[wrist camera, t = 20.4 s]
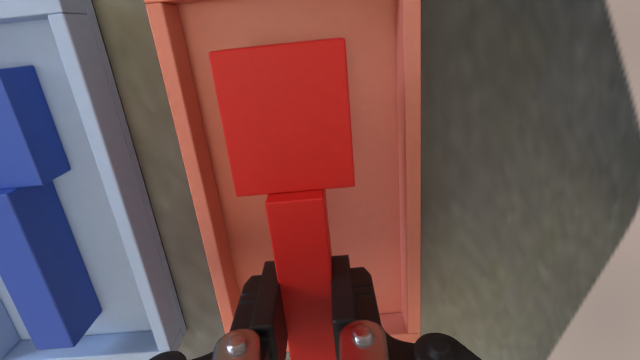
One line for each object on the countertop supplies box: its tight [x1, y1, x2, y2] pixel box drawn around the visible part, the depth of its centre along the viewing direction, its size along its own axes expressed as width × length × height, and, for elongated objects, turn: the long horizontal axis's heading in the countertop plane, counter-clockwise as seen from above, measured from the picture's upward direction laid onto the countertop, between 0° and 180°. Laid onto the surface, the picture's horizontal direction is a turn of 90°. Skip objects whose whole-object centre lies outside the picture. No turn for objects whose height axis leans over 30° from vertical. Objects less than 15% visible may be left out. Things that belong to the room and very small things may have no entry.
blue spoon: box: [0, 65, 102, 350], centre depth 16 cm, size 12×4×2 cm, turn 6°
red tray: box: [144, 0, 421, 352], centre depth 16 cm, size 16×9×2 cm, turn 6°
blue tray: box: [0, 0, 186, 360], centre depth 17 cm, size 16×9×2 cm, turn 6°
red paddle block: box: [208, 37, 355, 360], centre depth 13 cm, size 12×4×2 cm, turn 5°
